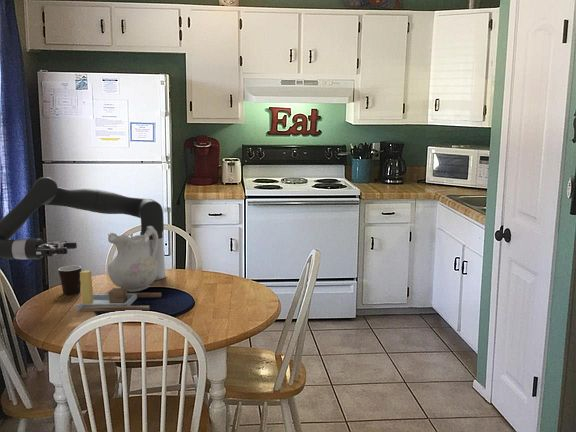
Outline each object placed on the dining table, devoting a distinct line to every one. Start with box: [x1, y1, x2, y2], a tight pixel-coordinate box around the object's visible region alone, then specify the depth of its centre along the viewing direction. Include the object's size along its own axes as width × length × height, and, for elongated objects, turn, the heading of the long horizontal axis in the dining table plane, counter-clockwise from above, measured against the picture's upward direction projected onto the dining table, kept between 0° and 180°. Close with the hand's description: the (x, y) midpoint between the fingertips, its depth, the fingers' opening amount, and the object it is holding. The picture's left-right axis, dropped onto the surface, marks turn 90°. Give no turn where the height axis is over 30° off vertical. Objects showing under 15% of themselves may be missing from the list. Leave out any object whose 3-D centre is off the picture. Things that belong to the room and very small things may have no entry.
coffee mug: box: [57, 265, 82, 296], centre depth 264 cm, size 12×9×10 cm
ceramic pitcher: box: [107, 225, 159, 293], centre depth 263 cm, size 22×20×25 cm
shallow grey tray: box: [76, 269, 138, 312], centre depth 244 cm, size 13×18×13 cm
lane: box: [80, 292, 162, 312], centre depth 244 cm, size 18×24×2 cm
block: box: [108, 287, 128, 303], centre depth 244 cm, size 5×5×5 cm
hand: (71, 248), depth 242 cm, fingers open, 8 cm apart
